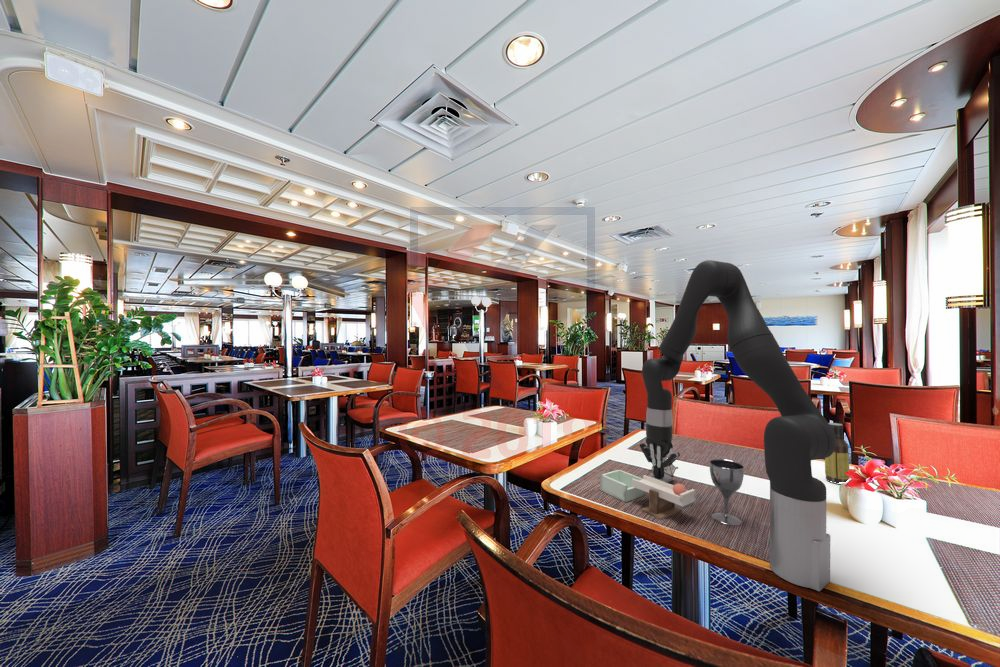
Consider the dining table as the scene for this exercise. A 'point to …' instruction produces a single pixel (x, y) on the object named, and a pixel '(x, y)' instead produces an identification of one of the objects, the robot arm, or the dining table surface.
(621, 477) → the tray
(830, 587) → the dining table surface
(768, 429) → the robot arm
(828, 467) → the sauce bottle
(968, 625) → the dining table surface
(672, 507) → the fulcrum
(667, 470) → the grey geometric polyhedron
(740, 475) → the wine glass
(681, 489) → the ball
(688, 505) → the lever
